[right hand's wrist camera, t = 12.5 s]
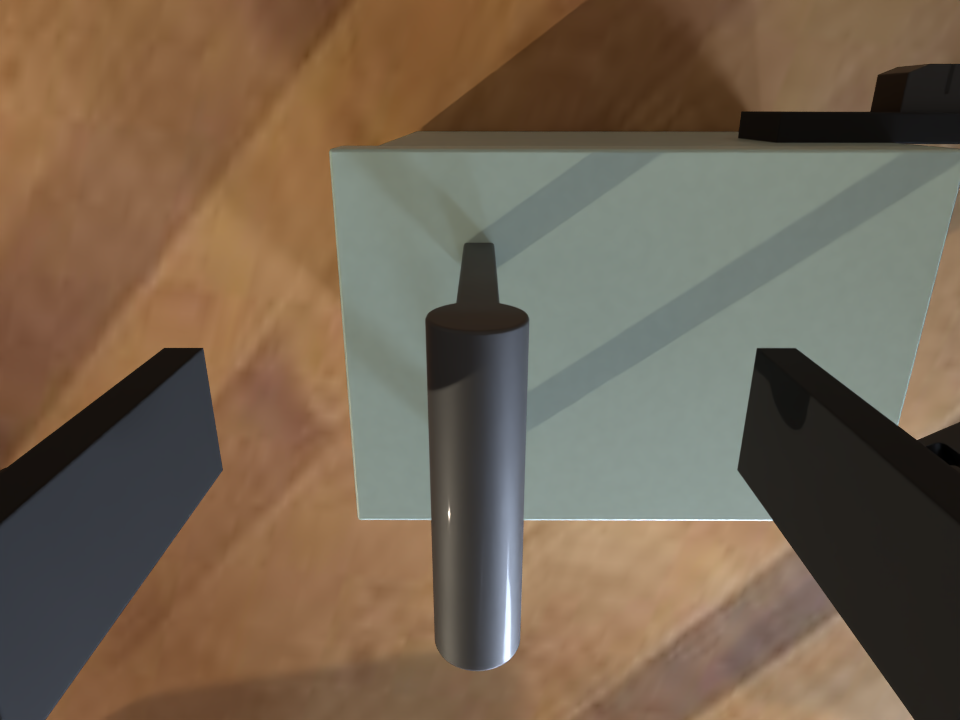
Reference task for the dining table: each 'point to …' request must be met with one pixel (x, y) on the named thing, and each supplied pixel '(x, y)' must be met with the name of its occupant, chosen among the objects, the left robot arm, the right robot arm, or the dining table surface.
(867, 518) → the right robot arm
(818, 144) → the chest
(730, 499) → the lid
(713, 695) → the dining table surface
